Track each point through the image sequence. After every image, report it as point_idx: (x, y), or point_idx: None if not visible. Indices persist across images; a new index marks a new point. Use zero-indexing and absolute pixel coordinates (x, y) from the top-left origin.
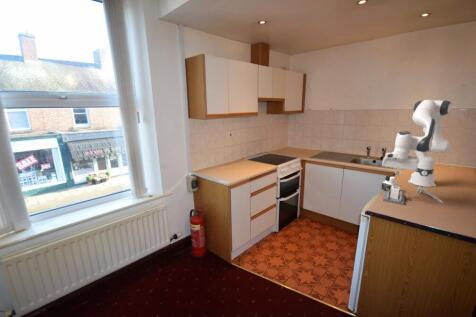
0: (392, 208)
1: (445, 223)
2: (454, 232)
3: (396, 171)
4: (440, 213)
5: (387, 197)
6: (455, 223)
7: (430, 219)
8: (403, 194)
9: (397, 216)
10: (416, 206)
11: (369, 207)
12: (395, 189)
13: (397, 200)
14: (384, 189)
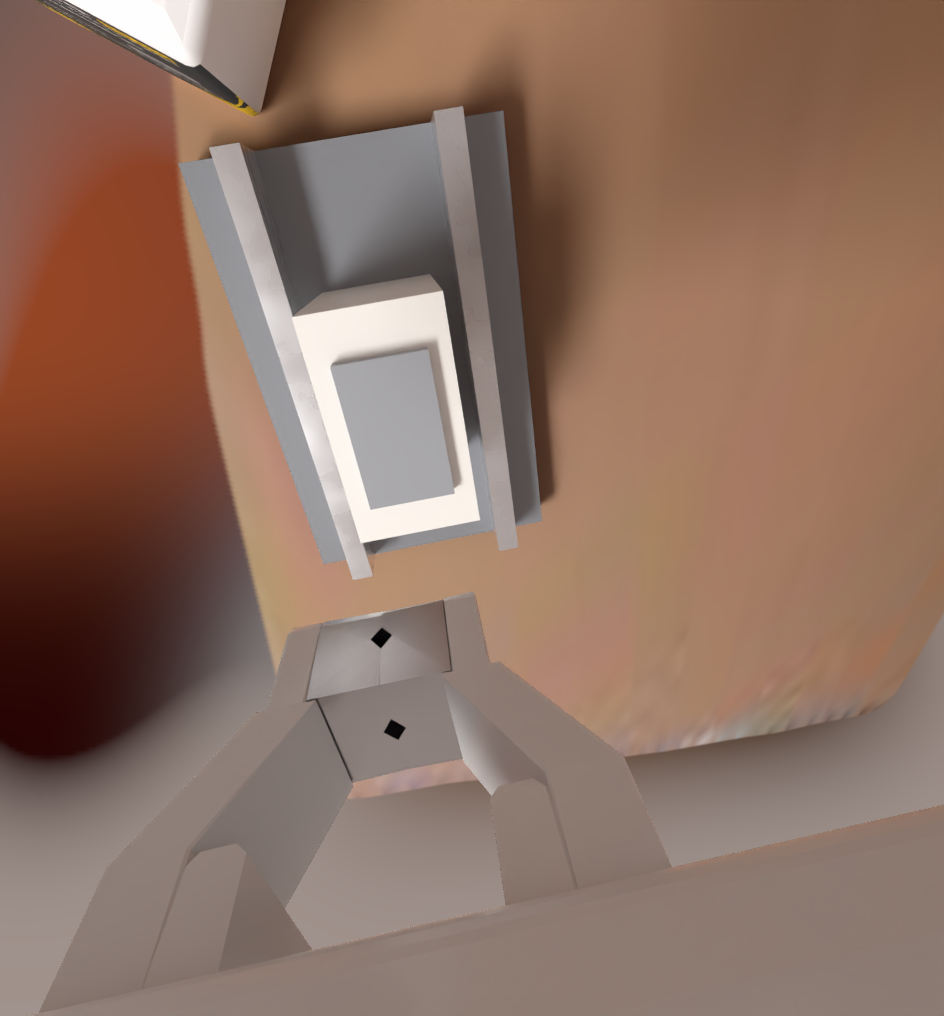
0: None
1: (808, 643)
2: (816, 720)
3: (322, 745)
4: (837, 474)
5: (365, 572)
6: (877, 597)
7: (725, 651)
8: (491, 124)
9: None
10: (652, 451)
11: None
12: (424, 527)
13: None
14: (115, 41)
